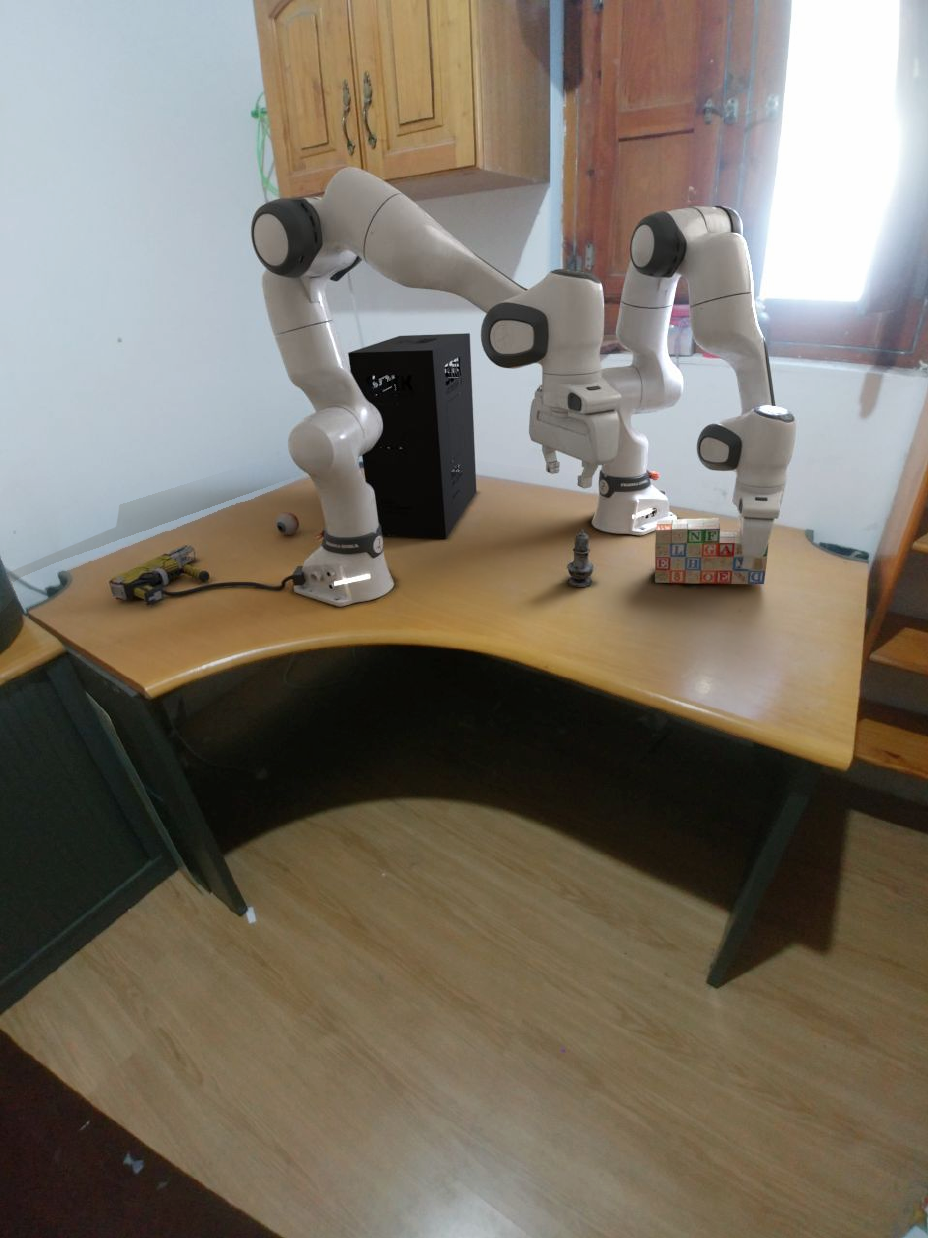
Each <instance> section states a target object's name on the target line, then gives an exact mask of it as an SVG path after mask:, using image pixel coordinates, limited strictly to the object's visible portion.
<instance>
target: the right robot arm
mask: <svg viewBox="0 0 928 1238" xmlns="http://www.w3.org/2000/svg"><path fill="white" fill-rule="evenodd" d="M743 231H744V229H743V222H742V218H741V216H740V214H739V213H738V212H737V211H736V210H735V209H732V208H731V207H728V206H722V205H714V206H707V205H706V206H705V205H703V206H702V205H696V206H695V205H694V206H693V205H691V206H687V207H684V208H678V209H676V208H675V209H672V210H668V211H665V210H659V211H655V212H654V213H651V214H648V215H646V216H644V217H642V218H641V219H640V221H638V223H637V224H636V226H635V227H634V230H633V232H632V235H631V239H630V245H629V254H630V255H629V256H630V261H629V264H628V268H627V271H626V273H625V274H626V275H625V278H624V281H623V286H622V292H621V297H620V303H619V309H618V316H617V322H616V328H615V337H616V340H617V343H618V344H619V345H620V346H621V347H622V348H623V349H625V350H626V351H628V352H629V353H632V360H631V364H630V365H624V366H615V367H614V366H613V367H605V368H602V371H601V378H603V379H605V381H606V382H607V383H608V384H609V385H610V386H611V387H612V388H614V389H615V390H616V391H618V392H619V393H620V395H621V406H620V408H618V409H614V410H615V411H616V412H617V414H618V417H619V440H618V450H617V455H616V457H615V459H614V460H613V462H611V463H608V464H604V465H601V468H600V470H599V474H598V492H599V493H598V498H597V502H596V507H595V511H594V514H593V517H592V520H591V525H592V526H593V527H594V528H595V529H597V530H599V531H601V532H605V533H611V534H623V535H625V534H626V535H632V536H633V535H634V536H645V535H646V534H650V533H652V532H654V531H655V532H656V525H657V520H659V519H672V520H673V519H678V516H677V515H676V514H675V513H674V512H672V511H670V503H669V502H670V501H669V498H668V497H667V496H666V491H664V490H660V489H658V488H656V487H655V486H654V485H652V483H651V480H653V481H658V479H659V478H660V473H659V472H657V471H654V470H651V471H649V470H648V469H647V466H648V458H649V457H648V455H649V446H650V443H649V440H648V438H647V437H646V435H645V434H644V433H643V432H641V431H639V430H638V429H636V428H633V427H632V422H631V421H632V420H631V419H632V418H631V417H632V416H634V415H643V414H651V413H657V412H660V411H663V410H666V409H668V408H671V407H674V406H675V405H676V404H677V403H678V402H679V400H680V398H681V397H682V394H683V391H684V378H683V375H682V373H681V371H680V369H679V368H678V367H677V366H676V365H675V364H674V363H673V362H672V360H671V358H670V355H669V351H668V333H669V326H670V321H671V316H672V312H673V311H672V310H673V306H674V301H675V295H676V290H677V285H678V282H679V280H680V278H681V277H682V278H684V279H685V281H686V282H687V288H688V309H689V311H688V312H689V327H690V332H691V335H692V338H693V341H694V343H695V344H696V345H697V346H698V347H699V348H700V349H701V350H702V351H704V352H706V353H707V354H710V355H711V356H715V357H717V358H720V359H721V360H723V361H725V362H726V363H727V364H728V365H730V367H731V368H732V369H733V371H734V373H735V376H736V381H737V387H738V394H739V401H740V407H741V414H740V415H738V416H735V417H731V418H726V419H722V420H718V421H715V422H712V423H709V424H708V425H706V426H705V427H704V428H703V429H702V430H701V431H700V433H699V435H698V437H697V438H698V439H697V441H696V454H697V458H698V460H699V462H700V463H701V464H702V465H703V466H704V467H705V469H708V470H709V471H710V470H711V471H718V472H731V471H732V472H734V473H735V475H736V476H735V482H734V487H733V493H732V498H731V503H732V504H733V505H734V506H735V507H736V509H737V512H738V516H737V525H738V532H739V533H740V540H741V547H742V555H743V559H742V568H743V569H751V568H752V563H753V560H754V558H761V557H763V555H764V553H765V551H766V548H767V545H768V546H769V544H768V542H769V541H770V538H771V535H772V531H773V528H774V523H775V520H777V519H779V517H780V513H781V507H782V503H783V498H784V494H785V490H786V485H787V480H788V479H787V470H788V466H789V465H790V463H791V461H792V457H793V452H794V447H795V442H796V434H797V422H796V417H795V415H794V413H792V412H791V411H790V410H788V409H786V408H784V407H780V406H777V405H776V400H775V392H774V384H773V378H772V370H771V364H770V357H769V350H768V346H767V341H766V338H765V336H764V334H763V332H762V331H761V328H760V326H759V323H758V320H757V313H756V309H755V299H754V280H753V279H754V278H753V271H752V264H751V259H750V254H749V250H748V246H747V242H746V240H745V238H744V237H743Z"/></svg>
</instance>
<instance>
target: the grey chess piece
mask: <svg viewBox="0 0 928 1238" xmlns="http://www.w3.org/2000/svg"><path fill="white" fill-rule="evenodd" d="M584 532H585V531H584V530H583V529H581V530H580V533H578V534H576V535H574V536H575V537H574V548H572V552H573V560H572V561H570V562H569V563H567V565H566V569H567V571H568V574H569V576H570V577H569V578H568V579H567V583H568V584H569V585H570V586H572V587H577V588H582V587H588V586H591V585H592V584H593V579H592V578H591V575H592V574H593V571H594V570H595V565H594V564H593V563H592V562H590V561H589V553H590V552H591V549H590V548H589V544H590V536H589V535H588V534H587V533H584Z"/></svg>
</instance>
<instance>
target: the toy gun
mask: <svg viewBox="0 0 928 1238" xmlns="http://www.w3.org/2000/svg"><path fill="white" fill-rule="evenodd" d="M191 553H193V556H190V554H191ZM196 560H197V556H196V551H195V547H194V546H192V545H189V546H188V545H187V544H184V545H182V546H180V547H177V548H176V549H174V550H171V551H170V552H168V553H163V554H161V555H159V556H157V557H155V558H153V559H151V560H149V561H147V562H145V563H142V564H139V565H138V566H136V567H133V568H132V569H129V570H128V571H125V572H123V573H121V574H119V575H117V576H115V577H113V578H111V579H110V580H108V583H109V587H110V591H111V594H112V597H113V598H115V600H117V601H118V600H119V601H120V602H121V601H122V602H123V601H125V600H126V601H131V600H135V599H143V600H144V601H145V605H146V607H150V606H153V605H155V604H157V603H159V602H162V601H164V600H165V595H164V594H163V590H164V589H163V588H164V587H166V586H168V585H169V581H171V580H173V579H175V578H178V577H181V575H182V574H184V575H185V576H189V577H191V578H194V579H196V580H199V581H200V582H202V583H205V582H207V581H209V580H210V573H209V572H208V571H207V570H202V569H200V568H198V567H195V566H192V565H191V564H190V563H192V562H193V561H196ZM162 589H163V590H162Z"/></svg>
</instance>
